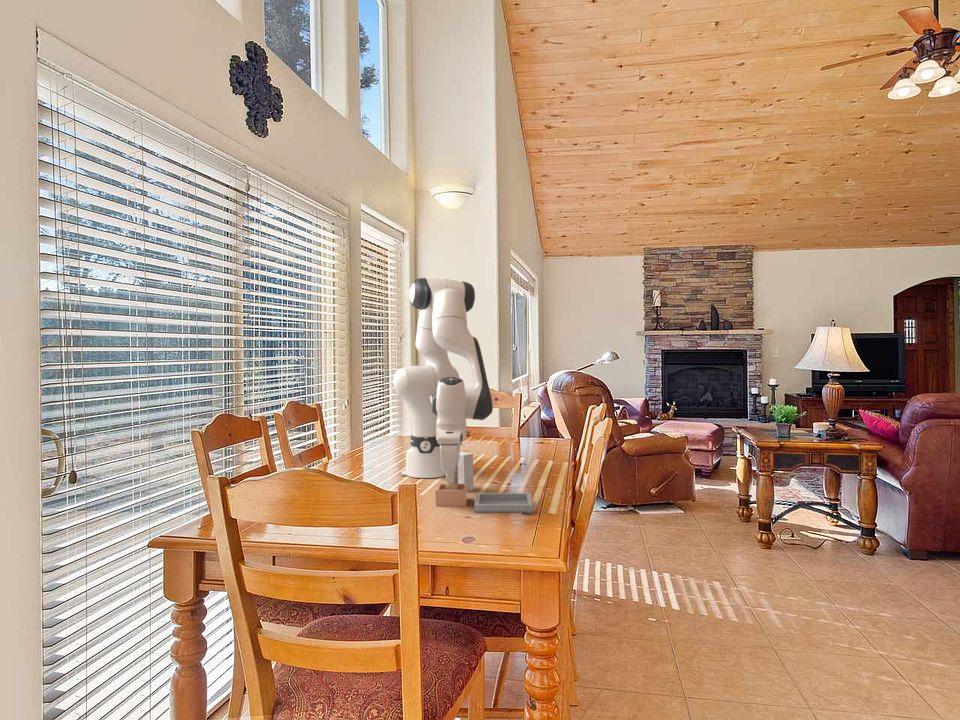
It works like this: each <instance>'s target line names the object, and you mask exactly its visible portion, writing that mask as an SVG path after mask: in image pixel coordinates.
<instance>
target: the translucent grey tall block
mask: <svg viewBox="0 0 960 720" xmlns="http://www.w3.org/2000/svg"><path fill="white" fill-rule="evenodd" d="M445 484H446V490H458V464H457V467H456V470H455V471H454V483H448V477H447V472H446V476H445Z"/></svg>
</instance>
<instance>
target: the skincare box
mask: <svg viewBox="0 0 960 720" xmlns="http://www.w3.org/2000/svg"><path fill="white" fill-rule="evenodd" d="M458 484H467V493H468V492H471V491H472V492H473V491H474V453H470V452H462V451H460V459H459V462H458Z"/></svg>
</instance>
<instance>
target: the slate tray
mask: <svg viewBox="0 0 960 720" xmlns="http://www.w3.org/2000/svg"><path fill="white" fill-rule="evenodd" d="M473 504H474V505H473V507H474V508H473V512H474V513H475V514H476V513H478V514H479V513H481V514H482V513H483V514H484V513H485V514H486V513H489V514H491V513H495V514H499V513H501V514H503V513H504V514H505V513H507V514H508V513H511V514H518V513H519V514H520V513H521V515H533V514H534V505H533V497H532V494H531V492H476V494H475V499H474V503H473Z"/></svg>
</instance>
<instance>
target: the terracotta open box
mask: <svg viewBox="0 0 960 720" xmlns="http://www.w3.org/2000/svg"><path fill="white" fill-rule="evenodd" d="M468 497H469V496H468V492H467V484H458V490H446V483H438V484H437V486H436V488H435V507H466V506H467V503H468Z"/></svg>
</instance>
